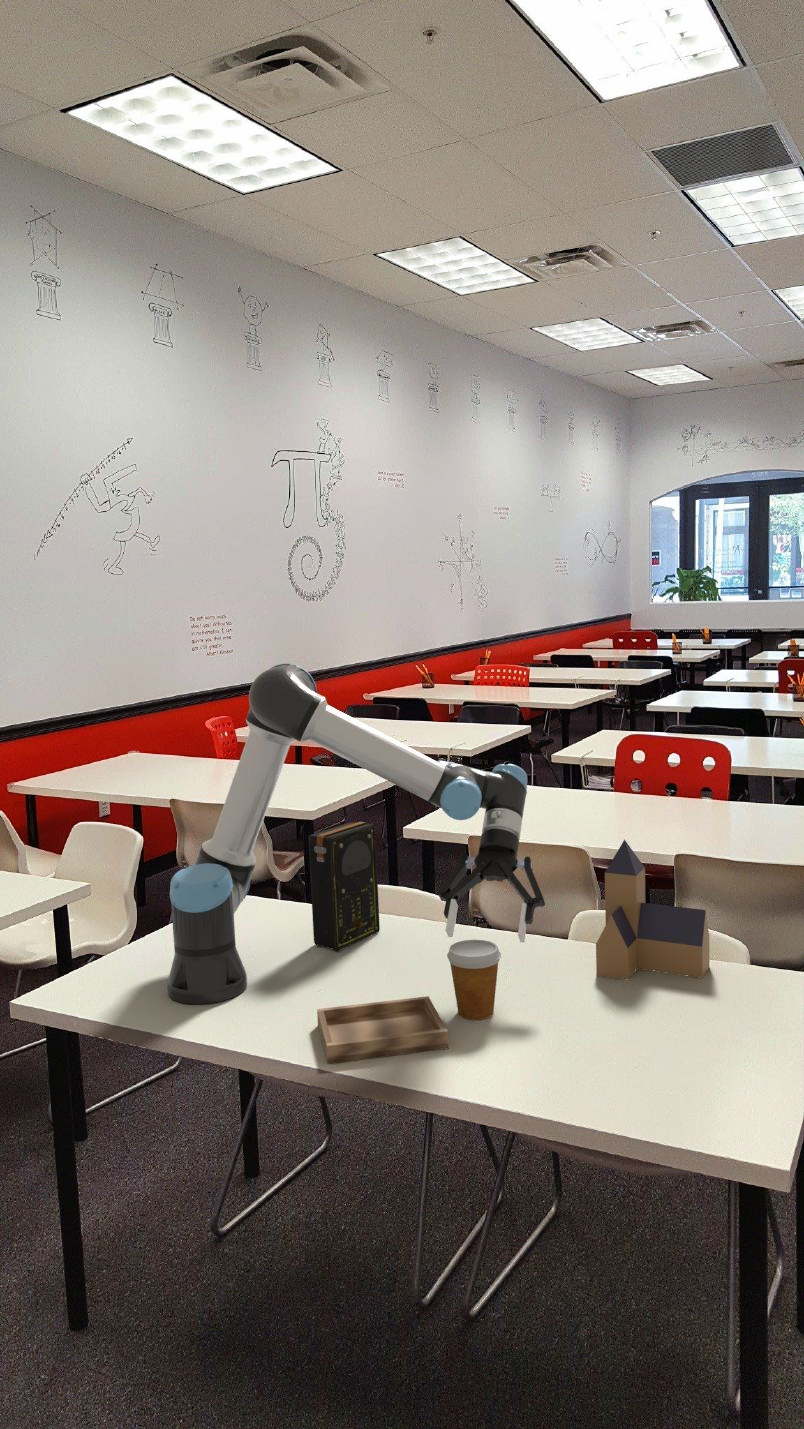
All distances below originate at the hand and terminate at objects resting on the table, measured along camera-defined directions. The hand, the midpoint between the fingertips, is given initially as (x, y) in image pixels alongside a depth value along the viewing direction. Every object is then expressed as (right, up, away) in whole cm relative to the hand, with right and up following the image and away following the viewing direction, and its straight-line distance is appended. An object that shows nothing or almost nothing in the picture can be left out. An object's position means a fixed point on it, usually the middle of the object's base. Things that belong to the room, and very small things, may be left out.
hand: (484, 936), depth 184 cm
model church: (+34, -9, +11) cm, 37 cm away
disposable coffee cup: (-2, -13, -5) cm, 14 cm away
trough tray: (-19, -14, -13) cm, 27 cm away
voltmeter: (-27, -9, +36) cm, 46 cm away
